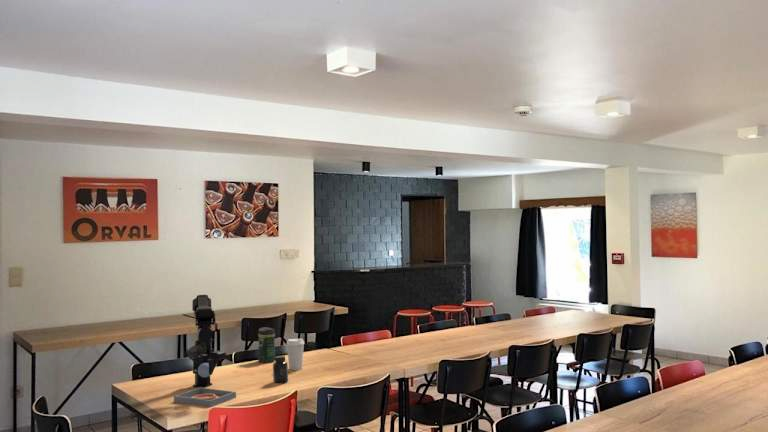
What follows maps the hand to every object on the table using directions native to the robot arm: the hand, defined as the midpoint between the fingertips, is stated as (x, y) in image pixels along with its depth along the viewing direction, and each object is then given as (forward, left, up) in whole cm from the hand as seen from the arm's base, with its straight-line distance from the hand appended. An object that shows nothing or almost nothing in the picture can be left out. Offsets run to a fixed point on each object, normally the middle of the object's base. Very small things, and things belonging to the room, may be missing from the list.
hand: (205, 374), depth 275 cm
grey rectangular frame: (0, 0, -11) cm, 11 cm away
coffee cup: (+1, +66, -11) cm, 67 cm away
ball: (0, 0, +2) cm, 2 cm away
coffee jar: (-25, +76, -11) cm, 81 cm away
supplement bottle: (+11, +39, -11) cm, 42 cm away
